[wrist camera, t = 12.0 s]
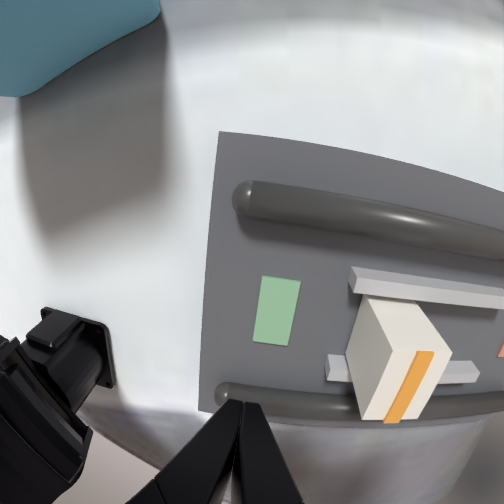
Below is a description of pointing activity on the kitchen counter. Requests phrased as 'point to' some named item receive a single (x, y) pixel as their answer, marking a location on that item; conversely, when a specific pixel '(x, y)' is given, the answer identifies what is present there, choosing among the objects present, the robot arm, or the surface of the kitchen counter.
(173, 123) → the kitchen counter surface
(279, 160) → the panel
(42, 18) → the data package
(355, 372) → the knob
